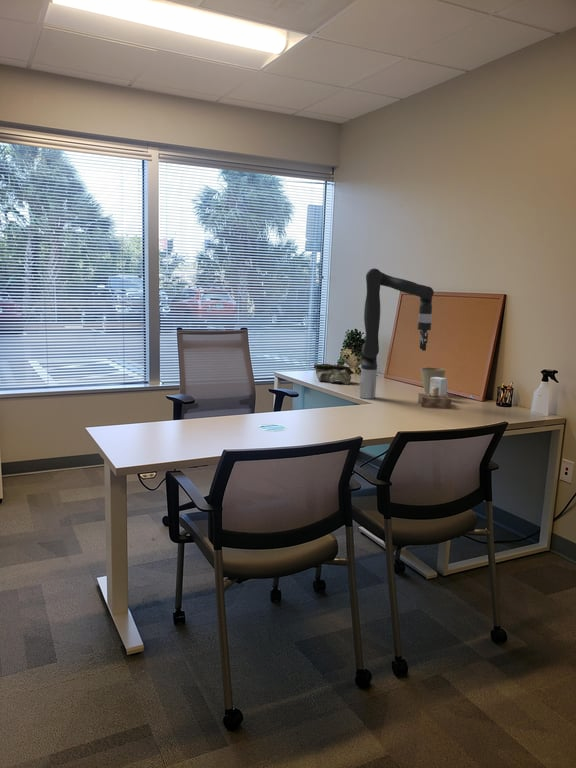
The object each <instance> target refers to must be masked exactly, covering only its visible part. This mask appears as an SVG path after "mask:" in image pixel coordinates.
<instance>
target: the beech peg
mask: <svg viewBox="0 0 576 768" xmlns="http://www.w3.org/2000/svg"><path fill="white" fill-rule="evenodd" d="M438 395H439V388H438V387H432V392H431V397H439V396H438Z"/></svg>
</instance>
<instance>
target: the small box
mask: <svg viewBox="0 0 576 768" xmlns="http://www.w3.org/2000/svg"><path fill="white" fill-rule="evenodd" d="M432 387H438V388H439V394H441V395H447V396H448V394H447V393H448V378H446V377H444V378H441V377H431V379H430V392H429V394H431V392H432Z"/></svg>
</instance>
